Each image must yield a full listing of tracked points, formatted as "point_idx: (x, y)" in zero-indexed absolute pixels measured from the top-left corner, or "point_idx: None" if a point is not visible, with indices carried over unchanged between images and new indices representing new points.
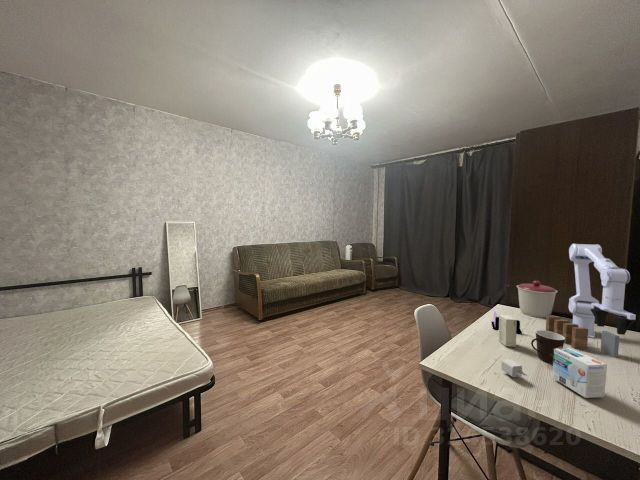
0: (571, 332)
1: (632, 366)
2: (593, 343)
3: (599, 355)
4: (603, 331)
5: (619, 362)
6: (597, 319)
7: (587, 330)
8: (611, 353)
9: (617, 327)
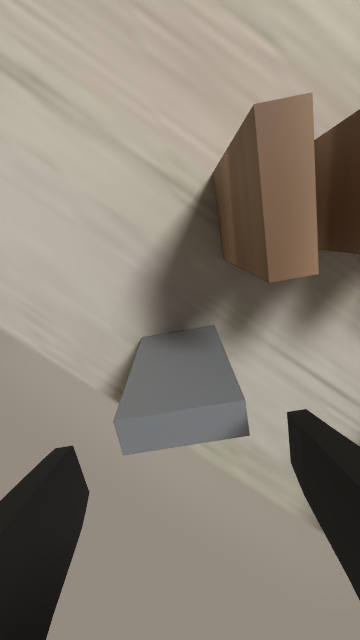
0: (343, 185)
1: (53, 355)
2: (323, 362)
3: (148, 275)
4: (230, 402)
5: (82, 323)
6: (349, 473)
7: (264, 271)
8: (152, 342)
9: (12, 513)
